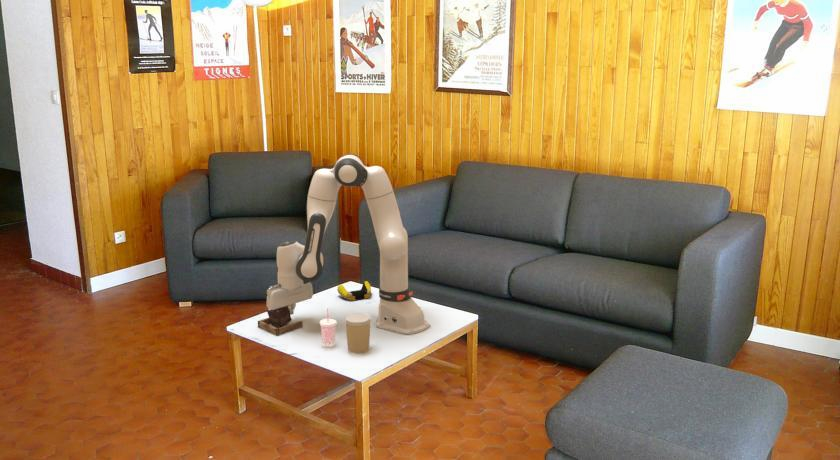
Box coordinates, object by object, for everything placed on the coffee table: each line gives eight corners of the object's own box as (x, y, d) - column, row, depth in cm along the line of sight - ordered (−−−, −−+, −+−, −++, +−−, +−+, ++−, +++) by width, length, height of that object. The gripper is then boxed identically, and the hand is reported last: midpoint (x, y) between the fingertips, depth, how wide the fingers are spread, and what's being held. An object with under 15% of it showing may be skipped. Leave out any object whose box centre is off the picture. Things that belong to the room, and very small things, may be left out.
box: (292, 320, 291) (287, 304, 288) (281, 328, 287) (277, 313, 284) (281, 317, 295) (276, 301, 292) (270, 325, 291) (266, 309, 287)
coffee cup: (376, 348, 268) (376, 317, 265) (358, 356, 262) (357, 324, 259) (358, 341, 274) (358, 311, 272) (340, 349, 268) (339, 318, 265)
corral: (302, 327, 288) (302, 321, 288) (277, 335, 280) (277, 329, 279) (283, 319, 297) (282, 313, 296) (258, 327, 289) (257, 321, 288)
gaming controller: (336, 296, 325) (343, 303, 316) (336, 284, 323) (343, 291, 314) (368, 291, 330) (376, 298, 322) (368, 279, 329) (376, 286, 320)
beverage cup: (317, 344, 272) (315, 308, 269) (330, 339, 276) (329, 304, 273) (326, 348, 268) (325, 313, 264) (340, 344, 272) (339, 309, 268)
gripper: (271, 289, 279) (273, 323, 282) (314, 277, 293) (315, 309, 296) (262, 285, 283) (264, 319, 286) (305, 274, 297) (306, 306, 301)
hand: (290, 314), depth 291 cm, fingers closed
